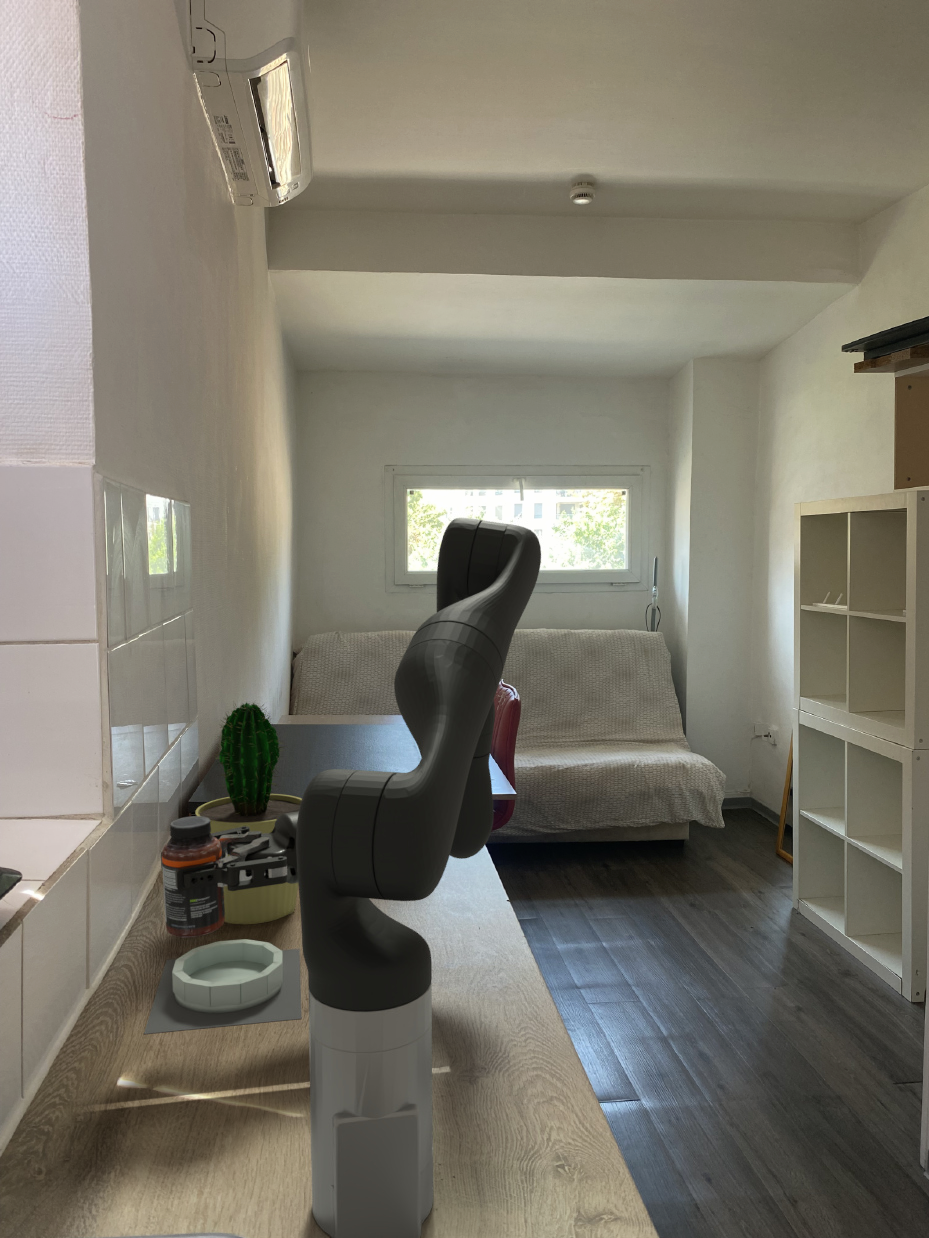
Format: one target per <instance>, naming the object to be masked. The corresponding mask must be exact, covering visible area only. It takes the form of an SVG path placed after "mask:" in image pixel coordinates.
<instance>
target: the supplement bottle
mask: <svg viewBox="0 0 929 1238" xmlns="http://www.w3.org/2000/svg"><path fill="white" fill-rule="evenodd" d="M169 825H170V826H169V827H170V834H169V836H170V838H169V840H168V842H166V844H165V845H164V846H163V848H162V851H161V852H162V867H163V869H162V878H163V879H162V884H163V900H164V902H163V903H164V917H165V919H164V920H165V928H166V931H167V932H168V933H169V935H171V936H174V937H178V938H183V939H187V938H195V937H196V938H197V937H198V938H199V937H201V936H207V935H209V934H212V933H214V932H215V931H217V930H219V929H221V928H222V926H224V923H225V922H224V921H225V907H224V887H218V886H217V885H216V883H215V885H211V886H206V887H200V888H195V889H190V890H185V891H179V890H178V889H177V887H176V881H175V871H176V869H178V868H179V867H184V866H190V865H196V864H202V863H206V862H211V861H212V862H213V863H214V865H216V861H217V860H220V859H222V849H221V844H220V842H219V840H218V839H217V838H215V837H213V836H212V835H211V833H210V832H211V824H210V819H209V818H206V817H201V816H196V815H195V816H192V815H191V816H184V817H180V818H176V819H174V820H173V821H171V823H170V824H169Z"/></svg>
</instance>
